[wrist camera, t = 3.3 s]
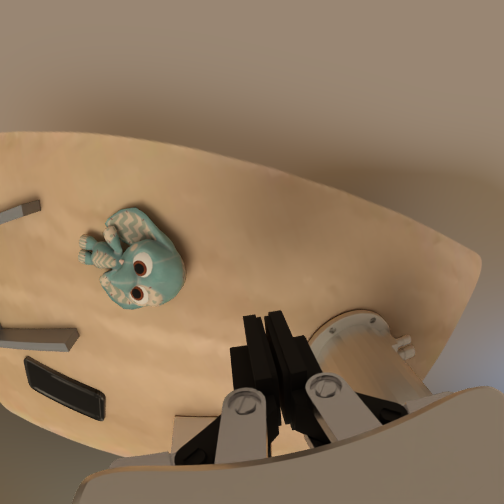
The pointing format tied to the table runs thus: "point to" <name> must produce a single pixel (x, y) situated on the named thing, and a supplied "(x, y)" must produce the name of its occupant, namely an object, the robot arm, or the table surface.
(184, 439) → the milk carton
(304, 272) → the table surface
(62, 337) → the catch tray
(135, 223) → the stuffed animal
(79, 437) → the table surface
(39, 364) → the phone
